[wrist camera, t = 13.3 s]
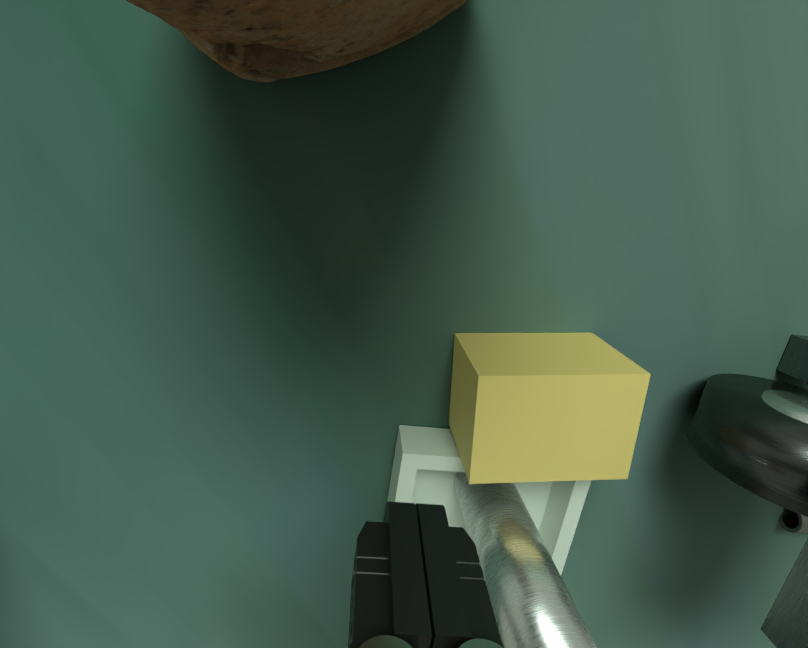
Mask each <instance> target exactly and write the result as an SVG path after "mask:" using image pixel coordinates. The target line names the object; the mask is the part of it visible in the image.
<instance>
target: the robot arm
mask: <svg viewBox="0 0 808 648" xmlns="http://www.w3.org/2000/svg"><path fill="white" fill-rule="evenodd" d="M348 648H504V646H503V643H502V641H501V637H500V634H499V630H498V626H497V623H496V619H495V615H494V612H493V608H492V604H491V601H490V597H489V593H488V590H487V586H486V582H485V581H484V575H483V571H482V567H481V565H480V560H479V556H478V553H477V549H476V545H475V543H474V542H473V540H472V539H471V538H470V536H469V535H468V533H467V532H466V531H465V529H464V528H463V527H449V525H448V520H447V515H446V510H445V507H444V505H436V504H421V503H416V504H415V503H405V502H390V501H388V502H387V504H386V510H385V516H384V522H368V521H366V523H365V525H364V527H363V528H362V530H361V532H360V533H359V535H358V538H357V545H356V553H355V560H354V568H353V575H352V584H351V604H350V622H349V640H348Z"/></svg>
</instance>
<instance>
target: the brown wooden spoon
mask: <svg viewBox="0 0 808 648" xmlns="http://www.w3.org/2000/svg"><path fill="white" fill-rule="evenodd" d="M797 515H798V516H785V517H780V518H779V522H780V524H781V525H782V526H783V528H785V529H786V530H787V531H789V532H794V533H808V517H806V516H803V515H801V514H798V513H797Z"/></svg>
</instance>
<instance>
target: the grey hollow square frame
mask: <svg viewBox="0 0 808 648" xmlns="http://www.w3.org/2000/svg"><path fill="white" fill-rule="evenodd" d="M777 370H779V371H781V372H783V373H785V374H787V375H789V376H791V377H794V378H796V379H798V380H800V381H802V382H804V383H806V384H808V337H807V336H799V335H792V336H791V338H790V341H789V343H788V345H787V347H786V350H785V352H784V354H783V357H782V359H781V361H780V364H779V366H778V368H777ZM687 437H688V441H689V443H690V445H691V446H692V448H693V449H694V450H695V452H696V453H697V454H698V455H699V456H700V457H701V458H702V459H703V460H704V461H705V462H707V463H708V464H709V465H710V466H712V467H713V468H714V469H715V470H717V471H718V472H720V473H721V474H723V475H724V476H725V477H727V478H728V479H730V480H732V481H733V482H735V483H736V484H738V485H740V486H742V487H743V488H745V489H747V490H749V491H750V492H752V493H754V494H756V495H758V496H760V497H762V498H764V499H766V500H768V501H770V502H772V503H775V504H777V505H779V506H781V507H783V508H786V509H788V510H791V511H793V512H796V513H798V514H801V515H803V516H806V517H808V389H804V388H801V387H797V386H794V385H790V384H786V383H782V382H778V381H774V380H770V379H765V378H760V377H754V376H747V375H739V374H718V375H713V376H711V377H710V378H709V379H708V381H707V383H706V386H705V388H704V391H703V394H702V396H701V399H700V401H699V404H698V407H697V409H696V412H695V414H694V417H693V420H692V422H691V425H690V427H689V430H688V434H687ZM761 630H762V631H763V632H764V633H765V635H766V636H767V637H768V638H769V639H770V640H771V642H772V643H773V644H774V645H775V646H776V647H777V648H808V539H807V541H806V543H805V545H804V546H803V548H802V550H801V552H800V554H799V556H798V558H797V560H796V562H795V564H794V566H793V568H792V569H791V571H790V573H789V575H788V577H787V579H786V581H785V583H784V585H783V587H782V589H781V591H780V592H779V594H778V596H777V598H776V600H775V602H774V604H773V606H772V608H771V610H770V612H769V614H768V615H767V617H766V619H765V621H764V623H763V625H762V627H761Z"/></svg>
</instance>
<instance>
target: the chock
mask: <svg viewBox="0 0 808 648" xmlns="http://www.w3.org/2000/svg"><path fill="white" fill-rule="evenodd" d="M650 375H651V374H650V373H648V372H647V371H646V370H644V369H643V368H641V367H640V366H638V365H637V364H636V363H634V362H633V361H631V360H630V359H629V358H627V357H626V356H624V355H623V354H621V353H620V352H619V351H617V350H616V349H614V348H613V347H612V346H610V345H609V344H607V343H606V342H604V341H603V340H602V339H600V338H599V337H597V336H596V335H595V334H593V333H455V337H454V353H453V368H452V383H451V398H450V413H449V425H450V428H451V431H452V434H453V437H454V440H455V443H456V446H457V449H458V452H459V455H460V458H461V461H462V464H463V467H464V470H465V473H466V476H467V479H468V482H469V484H485V483H516V482H547V481H578V480H609V479H628V474H629V470H630V465H631V461H632V456H633V452H634V447H635V443H636V438H637V434H638V429H639V425H640V420H641V415H642V411H643V406H644V402H645V397H646V393H647V388H648V384H649V379H650Z"/></svg>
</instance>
